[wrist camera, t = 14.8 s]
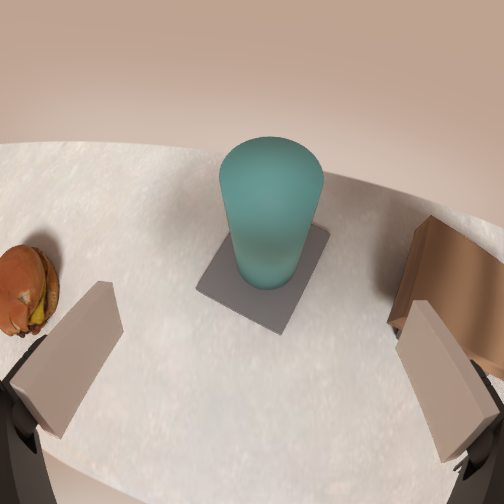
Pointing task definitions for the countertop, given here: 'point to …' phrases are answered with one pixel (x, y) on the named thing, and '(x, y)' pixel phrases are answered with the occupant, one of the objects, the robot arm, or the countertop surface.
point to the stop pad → (257, 300)
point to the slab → (456, 292)
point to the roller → (269, 206)
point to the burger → (26, 290)
